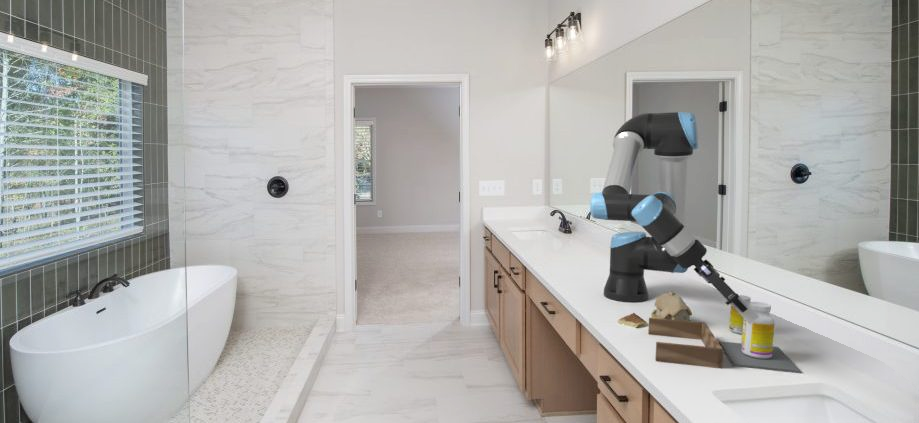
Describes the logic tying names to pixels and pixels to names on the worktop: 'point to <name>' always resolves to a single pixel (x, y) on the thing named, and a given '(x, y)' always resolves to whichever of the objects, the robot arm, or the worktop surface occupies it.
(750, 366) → the charcoal mat
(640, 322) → the pie slice
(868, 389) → the worktop surface
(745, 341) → the supplement bottle
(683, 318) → the ceramic model
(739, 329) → the supplement bottle
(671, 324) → the walnut caddy
